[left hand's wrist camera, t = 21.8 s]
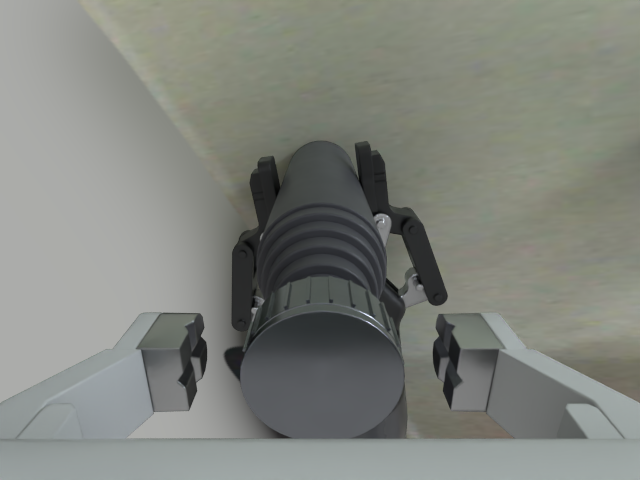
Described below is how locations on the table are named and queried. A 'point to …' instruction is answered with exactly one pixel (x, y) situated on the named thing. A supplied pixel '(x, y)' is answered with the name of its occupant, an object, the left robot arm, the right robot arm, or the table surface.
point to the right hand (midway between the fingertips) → (313, 152)
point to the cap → (322, 360)
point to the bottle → (321, 225)
